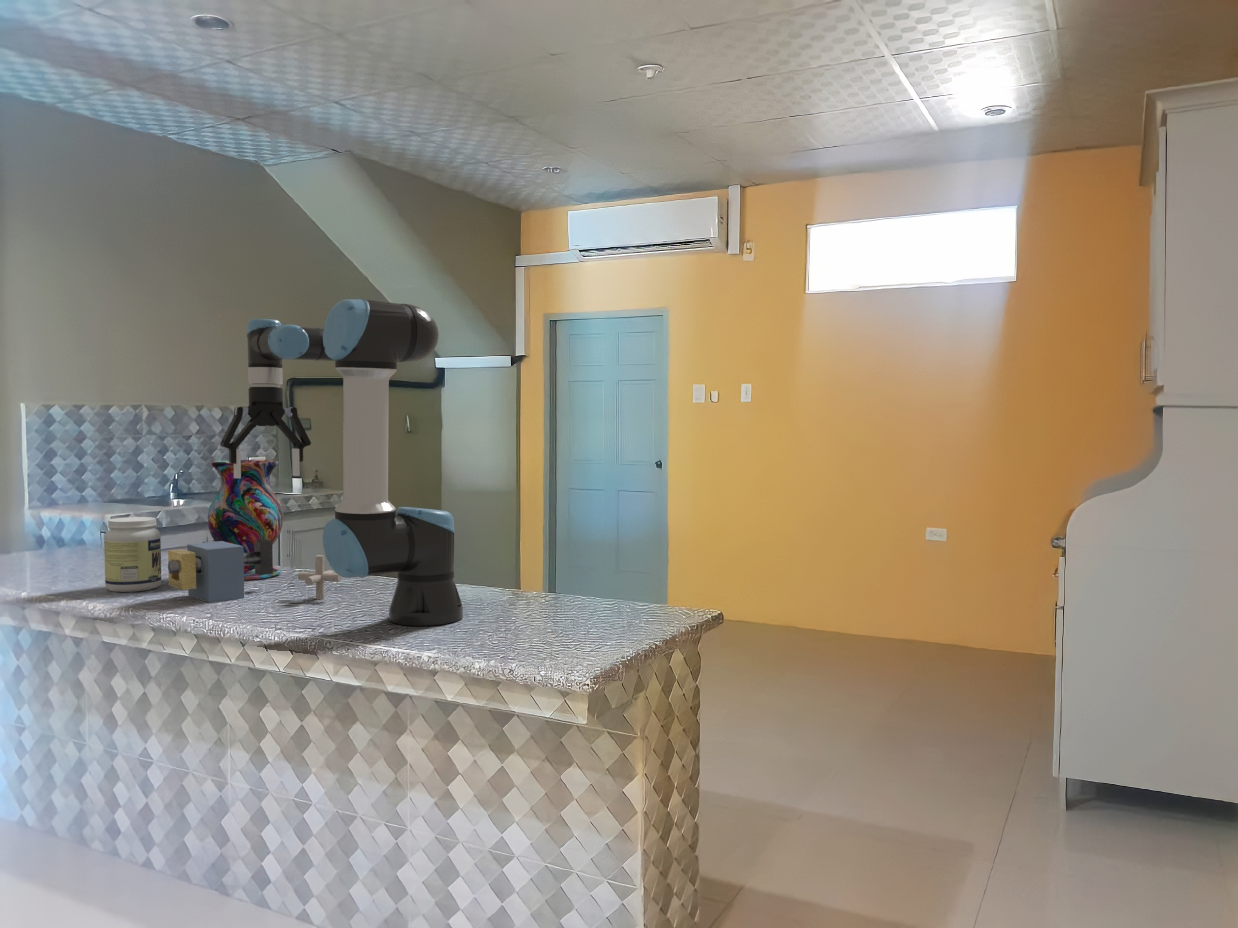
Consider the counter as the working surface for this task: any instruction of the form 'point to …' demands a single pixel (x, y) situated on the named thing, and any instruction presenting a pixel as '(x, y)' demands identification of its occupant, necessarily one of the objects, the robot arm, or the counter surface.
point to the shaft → (259, 558)
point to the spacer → (183, 569)
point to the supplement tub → (132, 554)
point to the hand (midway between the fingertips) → (267, 477)
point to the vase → (246, 508)
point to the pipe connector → (319, 577)
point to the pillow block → (218, 571)
